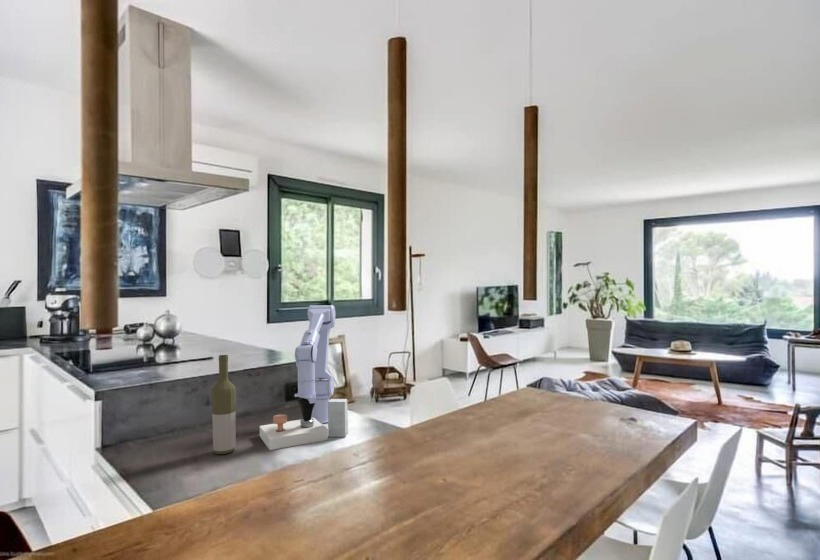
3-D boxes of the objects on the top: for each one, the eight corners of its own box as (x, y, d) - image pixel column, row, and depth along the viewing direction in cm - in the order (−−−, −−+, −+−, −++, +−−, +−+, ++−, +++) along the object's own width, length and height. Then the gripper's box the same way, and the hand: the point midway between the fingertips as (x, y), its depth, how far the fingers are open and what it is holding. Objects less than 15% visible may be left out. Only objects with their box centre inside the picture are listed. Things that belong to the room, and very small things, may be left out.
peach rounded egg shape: (272, 431, 154) (271, 415, 154) (285, 429, 156) (285, 413, 156) (275, 434, 150) (274, 418, 150) (288, 432, 152) (288, 416, 152)
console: (259, 436, 158) (259, 425, 158) (313, 427, 167) (313, 417, 168) (269, 450, 144) (269, 439, 144) (328, 439, 153) (327, 429, 154)
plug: (299, 434, 158) (298, 419, 158) (311, 432, 160) (311, 417, 160) (302, 438, 154) (302, 422, 154) (315, 436, 156) (315, 420, 156)
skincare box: (348, 433, 160) (347, 398, 160) (345, 437, 155) (344, 401, 156) (331, 433, 160) (330, 398, 160) (327, 437, 156) (327, 401, 156)
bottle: (207, 456, 140) (206, 357, 141) (218, 447, 147) (217, 353, 148) (230, 456, 140) (229, 357, 140) (240, 448, 147) (239, 353, 147)
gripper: (289, 378, 162) (289, 416, 162) (300, 385, 149) (301, 427, 149) (309, 375, 165) (309, 413, 165) (321, 382, 153) (322, 424, 152)
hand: (306, 420), depth 157 cm, fingers closed, pressing on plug
